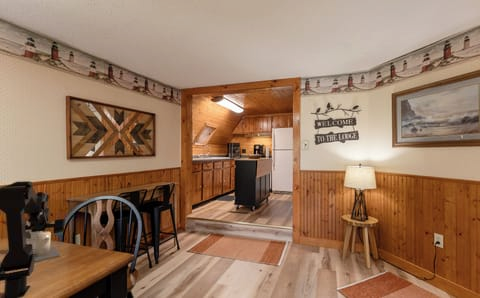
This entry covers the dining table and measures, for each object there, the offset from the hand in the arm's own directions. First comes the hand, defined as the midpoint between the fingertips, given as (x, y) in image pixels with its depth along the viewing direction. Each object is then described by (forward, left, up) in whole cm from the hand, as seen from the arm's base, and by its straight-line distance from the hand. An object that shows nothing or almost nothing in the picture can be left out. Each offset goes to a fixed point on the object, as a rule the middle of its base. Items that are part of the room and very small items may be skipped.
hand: (42, 236), depth 114 cm
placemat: (+1, 0, -9) cm, 10 cm away
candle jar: (+1, 0, -9) cm, 9 cm away
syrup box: (+14, +7, -10) cm, 19 cm away
